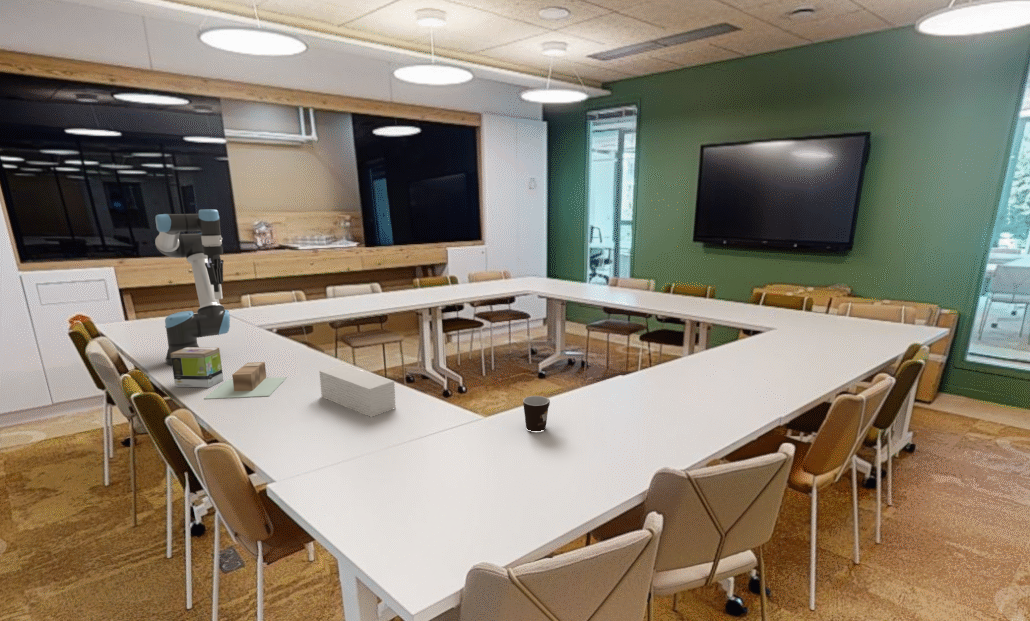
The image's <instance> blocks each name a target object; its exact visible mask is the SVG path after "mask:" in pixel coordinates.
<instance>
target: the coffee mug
mask: <svg viewBox="0 0 1030 621" xmlns="http://www.w3.org/2000/svg"><path fill="white" fill-rule="evenodd" d="M522 404H523V413H524V420H525V429H526V428H527V429H528V430H531V431H541V430H544V429H545V428H546V429H547V420H548V412H549V407H550V404H551V402H550V399H549V398H548V397H546V396H542V395H541V396H540V395H529V396H527V397H524V398H523V400H522ZM546 429H545V430H546Z"/></svg>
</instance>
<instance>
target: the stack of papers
mask: <svg viewBox="0 0 1030 621" xmlns="http://www.w3.org/2000/svg"><path fill="white" fill-rule="evenodd" d="M319 384H320V385H319V386H320V393H321V396H320V397H321V398H324V399H326V400H329V401H331V402H334V403H336V404H338V405H341V406H343V407H346V408H347V409H351V410H352V409H353V410H352V411H355V412H357V411H358V413H360V414H362V415H364V414H365V415H364V416H367V415H368V416H367V417H369V416H370V417H369V418H373V417H372V416H374V417H376V416H375V415H377V416H379V415H382V414H384V413H387V412H390V411H392V410H394V409H393V408H395V409H396V408H397V407H396V406H397V405H396V390H395V388H396V387H395V380H392V379H389V378H385V377H384V376H381V375H377V374H374V373H372V372H368V371H366V370H362V369H358V368H356V367H352V366H350V365H347V364H340V365H336V366H333V367H329V368H326V369H322V370H319ZM391 409H392V410H391ZM389 410H390V411H389ZM386 411H387V412H386ZM383 412H384V413H383ZM381 413H382V414H381ZM378 414H379V415H378Z"/></svg>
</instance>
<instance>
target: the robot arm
mask: <svg viewBox="0 0 1030 621" xmlns="http://www.w3.org/2000/svg"><path fill="white" fill-rule="evenodd" d="M219 214H220V213H219V210H217V209H211V208H210V209H208V208H207V209H205V208H204V209H199V210H198V213H163V214H156V215H155V224H156V225H155V226H156V230H157V231H158V233H159V234H158V235H157V236H156V238H155V241H154V242H155V243H154V244H155V247H156V249H157V250H158V251H159V253H161V254H162V255H165V256H166V257H170V258H175V259H177V258H178V259H181V258H183V259H185V258H186V261H187V262H188V263H189V264H191V265H190V266H191V269H192V270H191V271H192V274H193V279H194V284H195V289H196V294H197V298H198V299H197V300H198V304H199V307H198V308H197V313H194V311H193V310H187V311H185V310H184V311H179V312H175V313H172V314H170V315H167V316H166V317H165V319H164V322H165V326H164V327H165V328H164V329H165V330H166V338H167V345H168V346H167V347H168V349H167V353H166V356H165V357H166V358H165V364H166V365H168V366H172V361H171V354H170V353H173V352H175V351H178V350H181V349H184V348H186V347H200V345H199V344H198V339H199V338H203V337H213V336H221V335H225V334H228V333H229V330H230V327H231V326H230V325H231V324H230V323H231V322H230V321H231V319H230V318H231V316H230V311H229V309H225V306H224V305H223V304H221V303H220V300H223V298H224V297H223V289H222V288H223V287H222V284H224V260H223V259H221V256H220V255H223V254H224V249H223V242H222V241H223V237H222V232H221V222H220V221H221V220H220V215H219ZM181 232H198V233H183V234H182V233H181ZM197 338H198V339H197Z"/></svg>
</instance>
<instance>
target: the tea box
mask: <svg viewBox="0 0 1030 621" xmlns="http://www.w3.org/2000/svg"><path fill="white" fill-rule="evenodd" d="M220 350H221V349H220V347H202V346H201V347H200V346H199V347H186V348H184V349H181V350H178V351H175V352H173V353H170V354H171V361H172V365H171V366H172V367H171V368H172V374H173V380H174V385H175V387H176V388H178V387H179V388H180V387H181V388H208V389H209V388H211V387H213V386H215V385H217V384H219V383H221V382H223V381H224V378H223V377H224V374H223V368H222V367H223V366H222V359H221V351H220Z"/></svg>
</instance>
